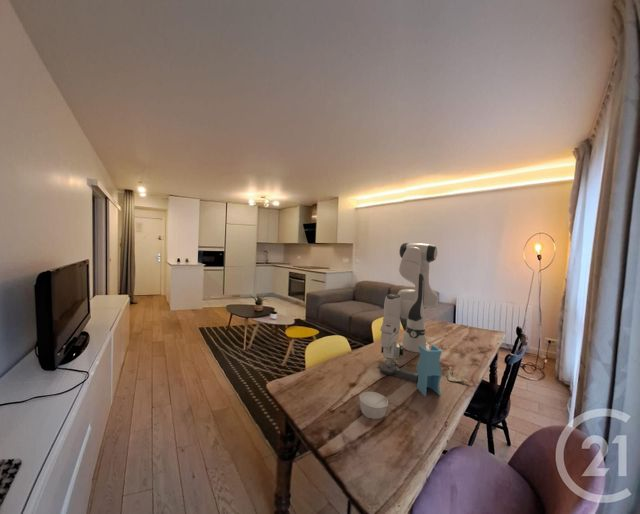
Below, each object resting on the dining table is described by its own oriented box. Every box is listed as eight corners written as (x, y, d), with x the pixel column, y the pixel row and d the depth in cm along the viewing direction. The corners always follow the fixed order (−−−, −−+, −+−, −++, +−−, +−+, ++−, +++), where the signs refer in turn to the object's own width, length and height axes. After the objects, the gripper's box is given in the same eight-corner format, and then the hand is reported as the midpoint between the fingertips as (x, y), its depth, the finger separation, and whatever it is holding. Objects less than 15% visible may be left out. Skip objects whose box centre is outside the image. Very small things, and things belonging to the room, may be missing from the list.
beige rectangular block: (386, 353, 144) (386, 339, 144) (396, 355, 141) (397, 342, 141) (383, 356, 139) (383, 342, 139) (393, 358, 136) (394, 345, 136)
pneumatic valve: (402, 366, 148) (403, 345, 147) (380, 364, 150) (382, 342, 150) (401, 362, 153) (402, 342, 153) (380, 360, 156) (381, 339, 155)
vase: (430, 385, 128) (433, 344, 128) (440, 394, 120) (443, 351, 120) (415, 386, 127) (417, 344, 126) (424, 395, 119) (427, 351, 118)
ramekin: (388, 423, 99) (389, 409, 99) (358, 418, 101) (358, 405, 100) (386, 406, 110) (387, 393, 110) (358, 402, 112) (359, 389, 111)
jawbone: (451, 386, 131) (451, 382, 131) (434, 368, 151) (434, 364, 151) (470, 385, 131) (470, 381, 131) (450, 367, 151) (450, 364, 151)
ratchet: (383, 367, 146) (384, 353, 146) (431, 380, 133) (432, 366, 133) (378, 372, 139) (379, 358, 139) (428, 387, 126) (429, 372, 126)
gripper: (391, 320, 150) (389, 344, 151) (379, 328, 132) (377, 356, 133) (402, 322, 147) (400, 347, 147) (392, 331, 129) (390, 359, 130)
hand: (389, 351), depth 140 cm, fingers closed on beige rectangular block, 5 cm apart
